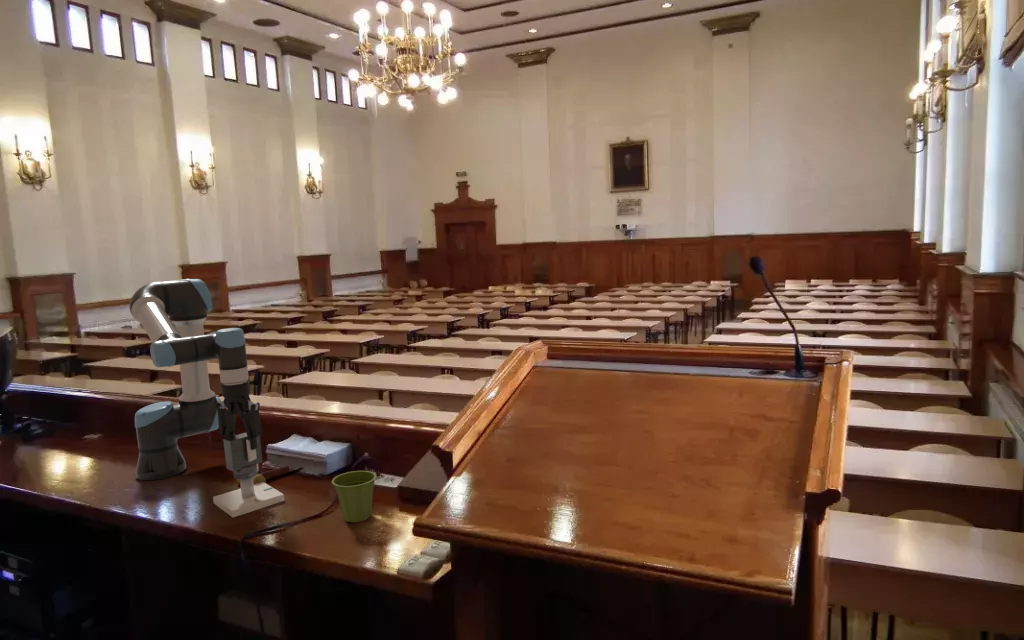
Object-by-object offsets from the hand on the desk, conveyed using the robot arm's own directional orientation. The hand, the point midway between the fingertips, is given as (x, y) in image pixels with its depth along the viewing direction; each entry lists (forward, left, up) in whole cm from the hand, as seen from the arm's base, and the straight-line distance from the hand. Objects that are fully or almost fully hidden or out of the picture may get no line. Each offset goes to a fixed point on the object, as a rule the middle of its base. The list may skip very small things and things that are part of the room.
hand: (243, 459), depth 192 cm
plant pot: (+35, +16, -13) cm, 41 cm away
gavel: (-14, +14, -14) cm, 24 cm away
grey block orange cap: (0, 0, -5) cm, 5 cm away
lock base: (0, 0, -13) cm, 13 cm away
